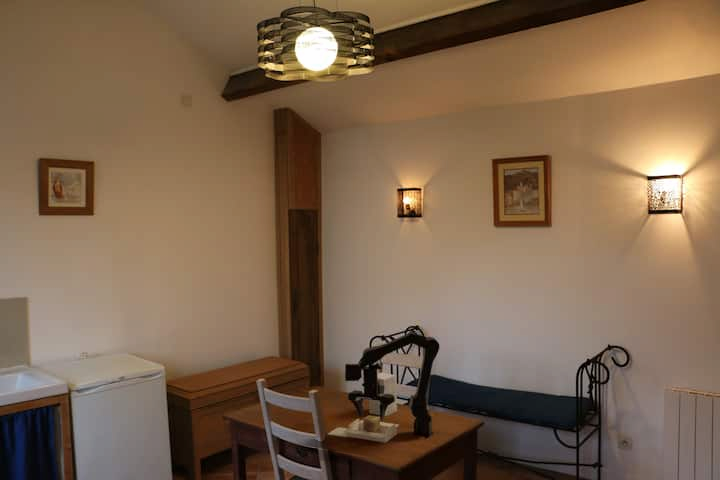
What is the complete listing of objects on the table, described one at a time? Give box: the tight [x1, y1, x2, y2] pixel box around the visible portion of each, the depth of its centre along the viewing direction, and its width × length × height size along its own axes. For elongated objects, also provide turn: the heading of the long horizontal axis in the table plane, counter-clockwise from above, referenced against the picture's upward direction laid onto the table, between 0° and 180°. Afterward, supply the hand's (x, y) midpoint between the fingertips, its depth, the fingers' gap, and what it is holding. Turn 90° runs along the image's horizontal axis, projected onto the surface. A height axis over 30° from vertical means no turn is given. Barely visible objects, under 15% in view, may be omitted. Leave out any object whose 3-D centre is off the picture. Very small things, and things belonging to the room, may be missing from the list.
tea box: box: [362, 415, 381, 434], centre depth 243 cm, size 5×5×7 cm
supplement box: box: [368, 372, 398, 417], centre depth 275 cm, size 10×9×17 cm
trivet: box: [327, 427, 348, 438], centre depth 248 cm, size 9×9×1 cm
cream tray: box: [344, 418, 400, 443], centre depth 243 cm, size 17×16×5 cm
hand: (371, 418), depth 243 cm, fingers open, 9 cm apart
